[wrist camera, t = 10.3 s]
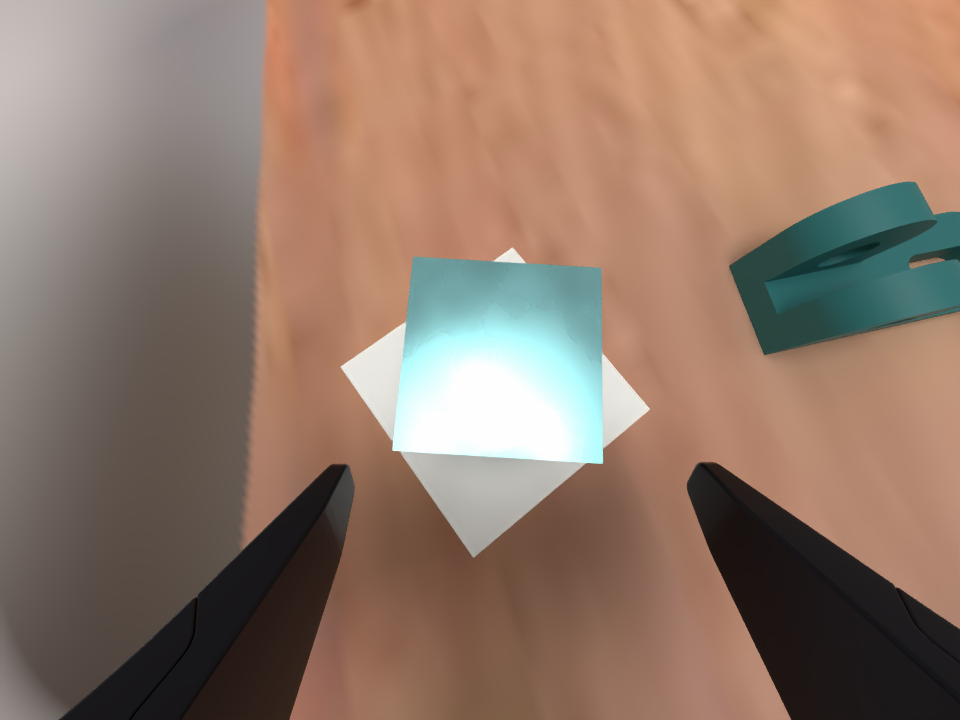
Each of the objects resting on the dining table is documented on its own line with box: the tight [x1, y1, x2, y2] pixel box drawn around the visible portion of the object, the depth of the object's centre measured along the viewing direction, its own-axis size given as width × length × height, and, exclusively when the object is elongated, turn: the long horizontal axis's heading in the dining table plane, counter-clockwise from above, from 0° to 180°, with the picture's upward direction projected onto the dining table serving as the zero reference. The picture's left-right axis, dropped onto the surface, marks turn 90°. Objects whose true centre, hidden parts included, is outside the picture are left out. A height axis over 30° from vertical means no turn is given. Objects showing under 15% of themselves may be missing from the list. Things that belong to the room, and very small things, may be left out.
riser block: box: [341, 248, 650, 558], centre depth 22 cm, size 13×13×3 cm
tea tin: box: [393, 257, 603, 464], centre depth 15 cm, size 6×6×10 cm
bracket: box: [729, 182, 960, 355], centre depth 21 cm, size 18×7×8 cm, turn 102°
